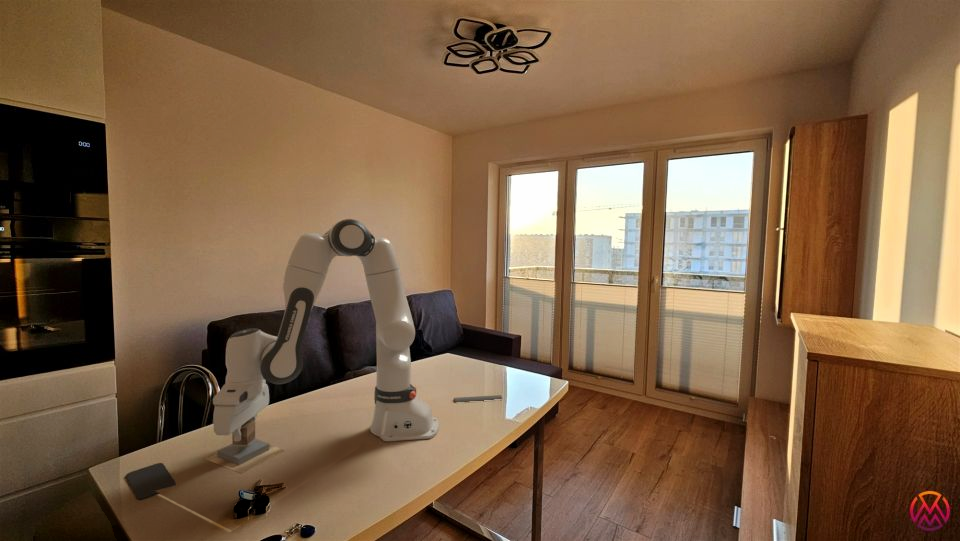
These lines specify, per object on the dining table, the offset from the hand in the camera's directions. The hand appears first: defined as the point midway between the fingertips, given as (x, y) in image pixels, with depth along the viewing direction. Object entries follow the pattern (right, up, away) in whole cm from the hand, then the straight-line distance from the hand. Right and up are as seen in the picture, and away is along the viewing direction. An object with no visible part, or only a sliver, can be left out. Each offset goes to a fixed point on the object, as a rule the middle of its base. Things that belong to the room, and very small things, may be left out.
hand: (244, 435), depth 107 cm
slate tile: (+4, -5, -2) cm, 6 cm away
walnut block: (0, -2, 0) cm, 2 cm away
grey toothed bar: (+66, -6, +46) cm, 81 cm away
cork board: (+1, -6, 0) cm, 6 cm away
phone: (-15, -6, -13) cm, 21 cm away
